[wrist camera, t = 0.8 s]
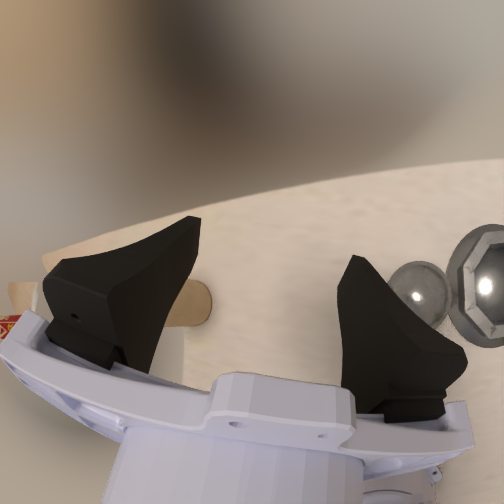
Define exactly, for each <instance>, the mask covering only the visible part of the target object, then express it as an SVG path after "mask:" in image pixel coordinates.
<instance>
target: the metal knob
mask: <svg viewBox="0 0 504 504" xmlns="http://www.w3.org/2000/svg"><path fill="white" fill-rule="evenodd" d="M388 285H389V286H390V288H391V289H392V290H393V291H394V292H395V293H396V294H397V296H398V297H399V298H400V299H401V300H402V301H403V302H404V303H405V304H406V305H407V306H408V307H409V308H410V309H411V310H412V311H413V312H414V313H415V314H416V315H417V316H419V317H420V318H421V319H422V320H423V321H424V322H426V323H427V324H428V325H429V326H431V327H432V328H433V329H436V328H437V327H438V326H439V325H440V324H441V323H442V322H443V321H444V319H445V318H446V316H447V314H448V312H449V309H450V306H451V300H452V293H451V287H450V283H449V281H448V279H447V277H446V275H445V274H444V273H443V271H442V270H441V269H439V268H438V267H437V266H435V265H434V264H431V263H429V262H425V261H415V262H410V263H407V264H405V265H403V266H402V267H400V268H399V269H398V270H397V271H396V272H395V273H394V274H393V275H392V277H391V278H390V280H389V282H388Z"/></svg>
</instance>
